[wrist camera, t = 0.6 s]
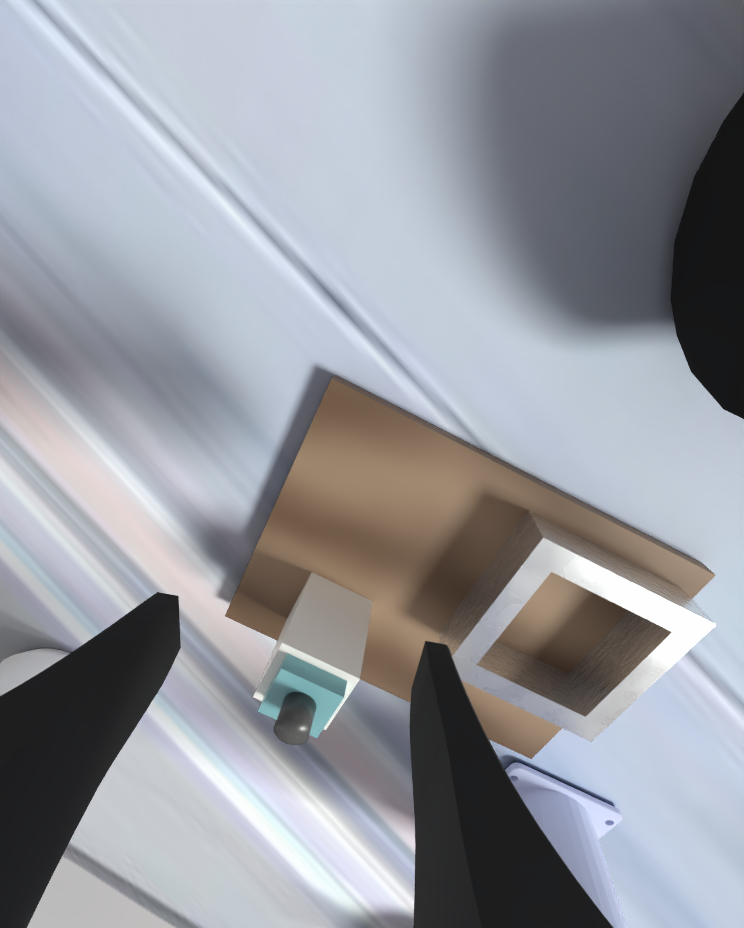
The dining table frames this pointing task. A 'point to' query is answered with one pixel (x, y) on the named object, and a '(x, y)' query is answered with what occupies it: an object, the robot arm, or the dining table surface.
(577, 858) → the robot arm
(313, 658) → the connector plug
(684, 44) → the dining table surface
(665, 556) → the board
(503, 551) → the end holder
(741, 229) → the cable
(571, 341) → the dining table surface
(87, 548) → the dining table surface
